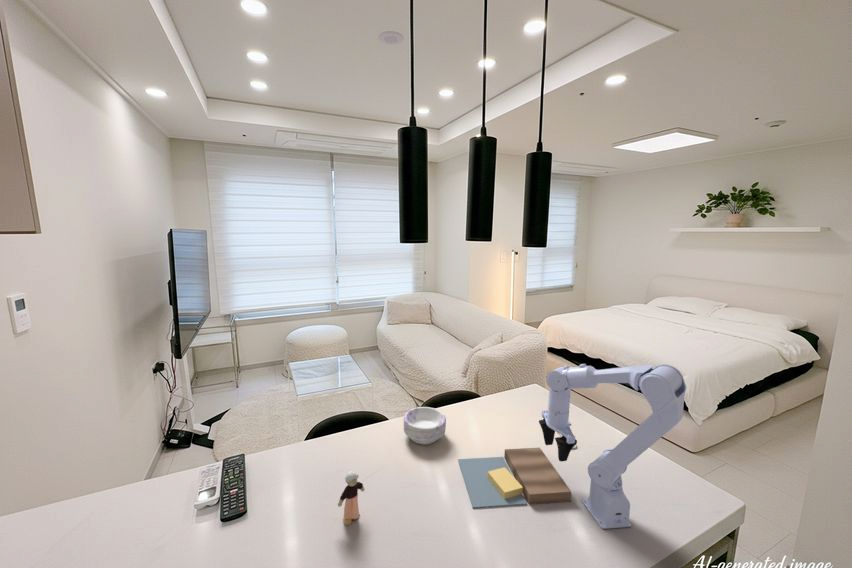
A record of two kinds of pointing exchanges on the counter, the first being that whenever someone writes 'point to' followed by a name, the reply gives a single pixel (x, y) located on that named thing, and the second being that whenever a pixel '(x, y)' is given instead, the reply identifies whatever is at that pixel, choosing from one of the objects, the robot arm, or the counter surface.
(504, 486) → the yellow flat block
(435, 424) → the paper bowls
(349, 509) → the grandmother figurine
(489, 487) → the mat
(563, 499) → the brown wooden board
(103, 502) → the counter surface
